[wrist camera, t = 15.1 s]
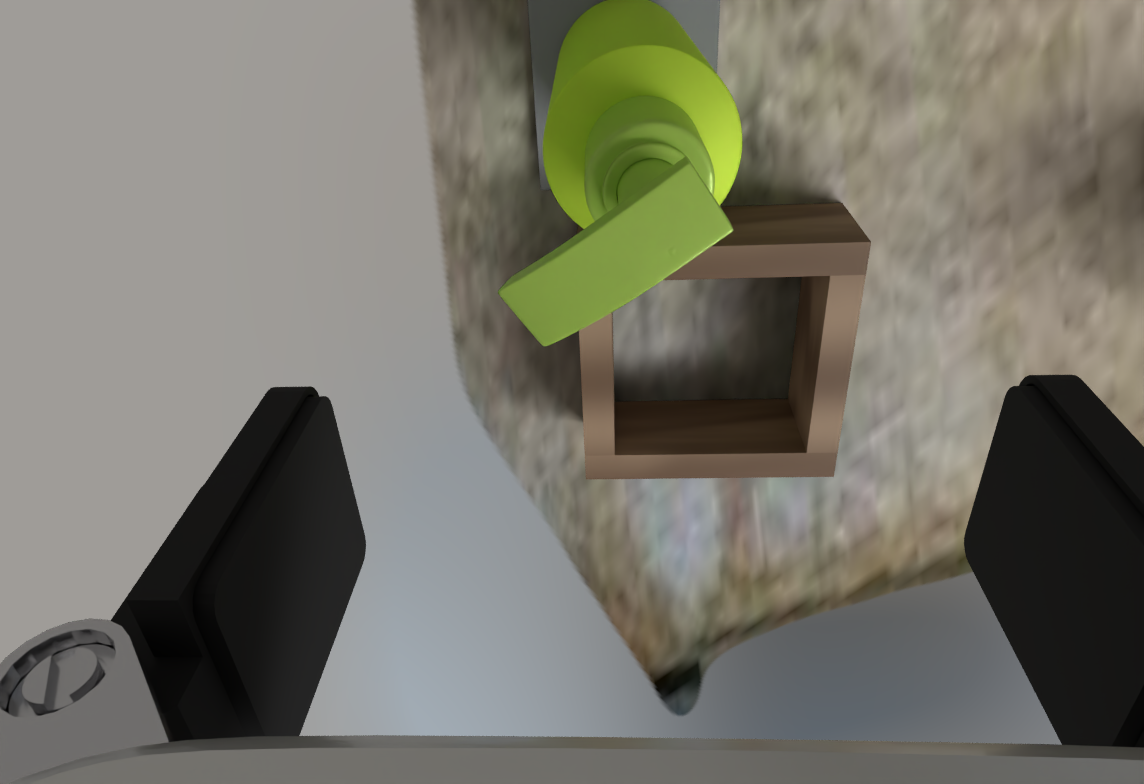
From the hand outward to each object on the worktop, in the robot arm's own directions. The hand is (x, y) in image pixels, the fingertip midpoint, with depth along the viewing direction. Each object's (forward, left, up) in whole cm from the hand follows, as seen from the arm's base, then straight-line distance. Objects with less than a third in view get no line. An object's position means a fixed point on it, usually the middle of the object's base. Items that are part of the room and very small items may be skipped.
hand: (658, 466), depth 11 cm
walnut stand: (+12, +4, -28) cm, 31 cm away
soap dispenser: (0, -1, -28) cm, 28 cm away
